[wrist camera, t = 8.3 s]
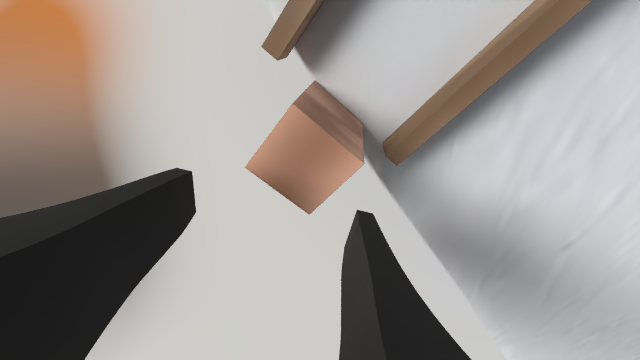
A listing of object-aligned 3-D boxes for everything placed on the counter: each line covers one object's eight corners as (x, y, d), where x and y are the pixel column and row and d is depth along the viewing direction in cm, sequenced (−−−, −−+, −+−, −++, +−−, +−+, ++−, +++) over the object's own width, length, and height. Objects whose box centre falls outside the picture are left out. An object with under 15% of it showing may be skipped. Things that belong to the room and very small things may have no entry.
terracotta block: (362, 122, 16) (364, 163, 11) (323, 163, 18) (309, 214, 13) (314, 80, 15) (292, 103, 10) (279, 127, 17) (244, 167, 12)
